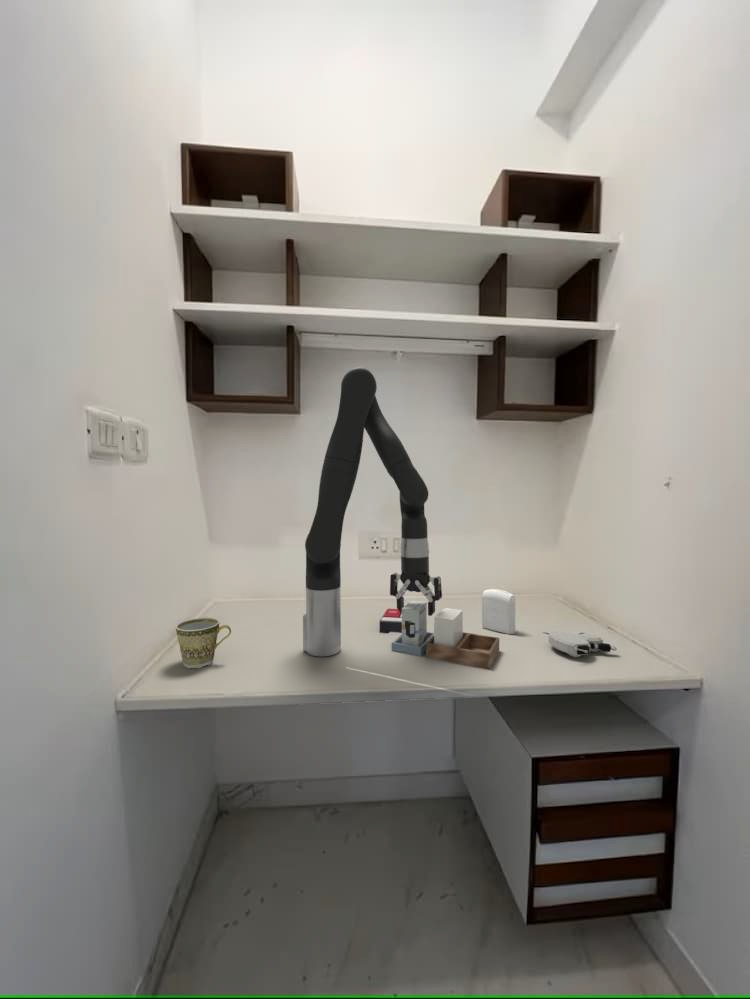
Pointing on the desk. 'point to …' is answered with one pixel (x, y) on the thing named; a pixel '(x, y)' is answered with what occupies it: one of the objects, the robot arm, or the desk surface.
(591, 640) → the robot toy
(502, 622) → the photo printer
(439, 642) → the white box
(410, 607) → the ink box
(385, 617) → the calculator
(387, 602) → the desk surface
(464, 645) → the brown divided wooden organizer
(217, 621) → the ceramic cup
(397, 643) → the tray
